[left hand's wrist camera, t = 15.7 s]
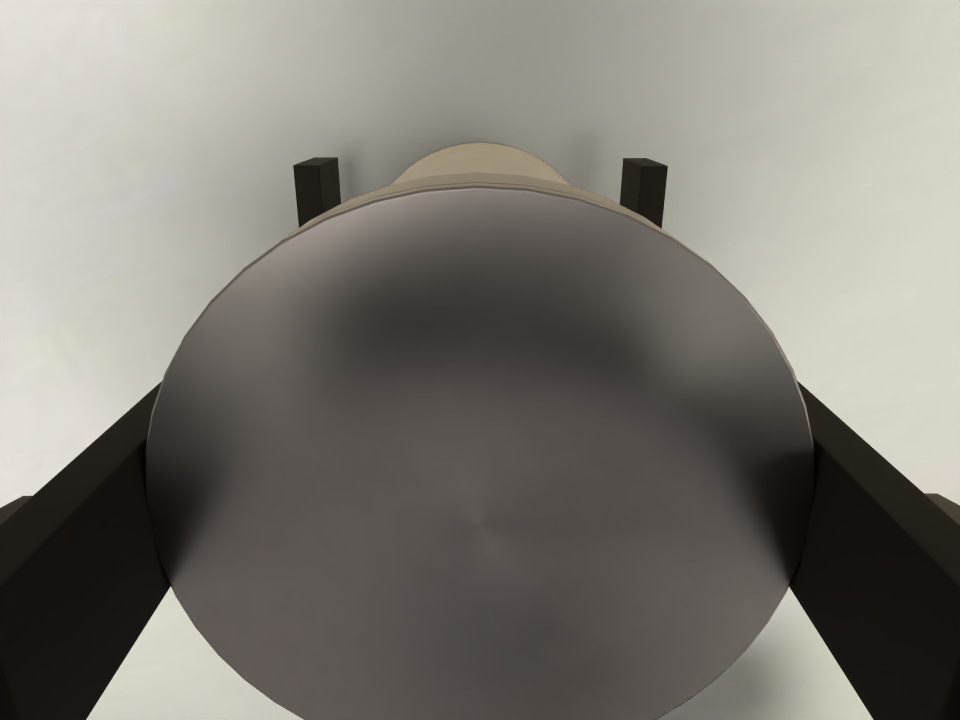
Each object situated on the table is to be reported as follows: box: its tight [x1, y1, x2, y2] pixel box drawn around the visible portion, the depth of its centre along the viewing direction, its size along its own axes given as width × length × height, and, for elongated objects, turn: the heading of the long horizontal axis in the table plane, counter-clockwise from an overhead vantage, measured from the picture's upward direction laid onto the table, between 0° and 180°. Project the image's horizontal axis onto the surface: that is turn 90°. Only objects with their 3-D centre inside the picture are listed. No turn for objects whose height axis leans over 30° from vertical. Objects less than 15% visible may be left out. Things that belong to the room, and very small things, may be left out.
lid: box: [145, 173, 815, 720], centre depth 11 cm, size 10×10×2 cm
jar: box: [391, 143, 571, 186], centre depth 20 cm, size 9×9×18 cm
